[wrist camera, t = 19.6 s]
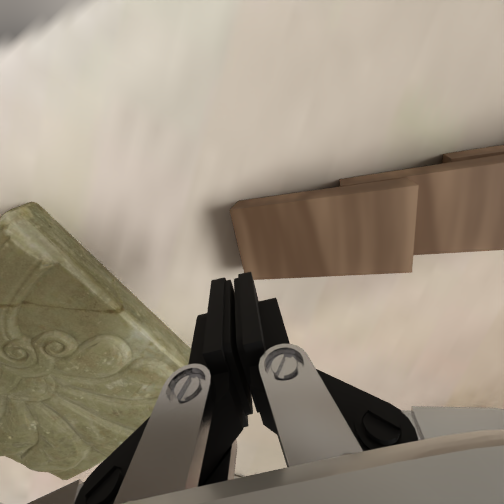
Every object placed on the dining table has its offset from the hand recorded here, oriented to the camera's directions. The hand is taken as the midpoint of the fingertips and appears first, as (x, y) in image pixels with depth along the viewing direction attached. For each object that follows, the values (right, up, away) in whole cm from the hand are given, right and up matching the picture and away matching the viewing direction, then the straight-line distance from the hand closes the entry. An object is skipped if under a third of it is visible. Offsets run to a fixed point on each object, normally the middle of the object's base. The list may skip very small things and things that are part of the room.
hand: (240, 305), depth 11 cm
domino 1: (0, +3, +7) cm, 7 cm away
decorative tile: (-15, -6, +11) cm, 20 cm away
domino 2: (+7, +4, +7) cm, 10 cm away
